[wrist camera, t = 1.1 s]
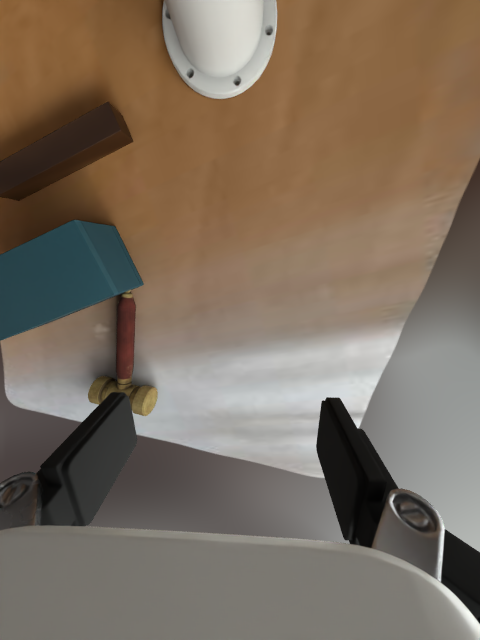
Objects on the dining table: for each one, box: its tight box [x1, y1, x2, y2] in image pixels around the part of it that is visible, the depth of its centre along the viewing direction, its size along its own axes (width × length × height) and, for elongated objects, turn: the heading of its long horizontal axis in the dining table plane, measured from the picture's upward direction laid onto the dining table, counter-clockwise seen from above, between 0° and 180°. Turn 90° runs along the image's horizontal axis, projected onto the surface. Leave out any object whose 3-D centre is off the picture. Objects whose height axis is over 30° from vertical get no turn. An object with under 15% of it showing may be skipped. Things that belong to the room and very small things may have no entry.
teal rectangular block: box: [0, 220, 144, 341], centre depth 32 cm, size 9×18×8 cm, turn 111°
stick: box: [0, 102, 133, 201], centre depth 29 cm, size 3×19×3 cm, turn 111°
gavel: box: [88, 290, 157, 416], centre depth 37 cm, size 21×5×10 cm
